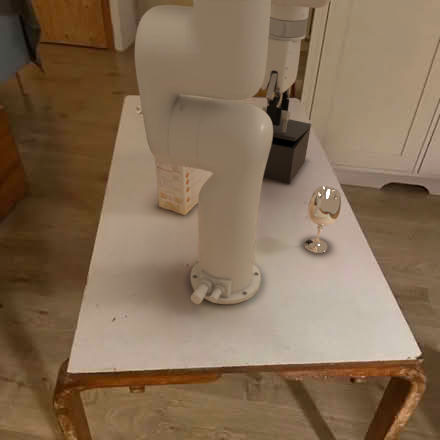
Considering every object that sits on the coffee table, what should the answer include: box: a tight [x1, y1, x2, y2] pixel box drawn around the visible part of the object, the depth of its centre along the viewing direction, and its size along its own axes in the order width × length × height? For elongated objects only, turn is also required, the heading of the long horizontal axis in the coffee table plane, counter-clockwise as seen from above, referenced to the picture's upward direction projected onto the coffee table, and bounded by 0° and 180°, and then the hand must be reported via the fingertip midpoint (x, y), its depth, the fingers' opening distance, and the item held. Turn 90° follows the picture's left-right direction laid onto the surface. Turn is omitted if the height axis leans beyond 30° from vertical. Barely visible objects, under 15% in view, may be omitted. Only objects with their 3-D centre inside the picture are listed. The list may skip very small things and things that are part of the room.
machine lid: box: [261, 106, 312, 141], centre depth 102 cm, size 13×12×5 cm
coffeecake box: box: [154, 95, 214, 216], centre depth 94 cm, size 15×7×20 cm, turn 152°
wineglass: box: [304, 186, 342, 254], centre depth 84 cm, size 6×6×12 cm
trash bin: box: [263, 126, 312, 185], centre depth 107 cm, size 13×12×9 cm
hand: (276, 119), depth 99 cm, fingers open, 4 cm apart
